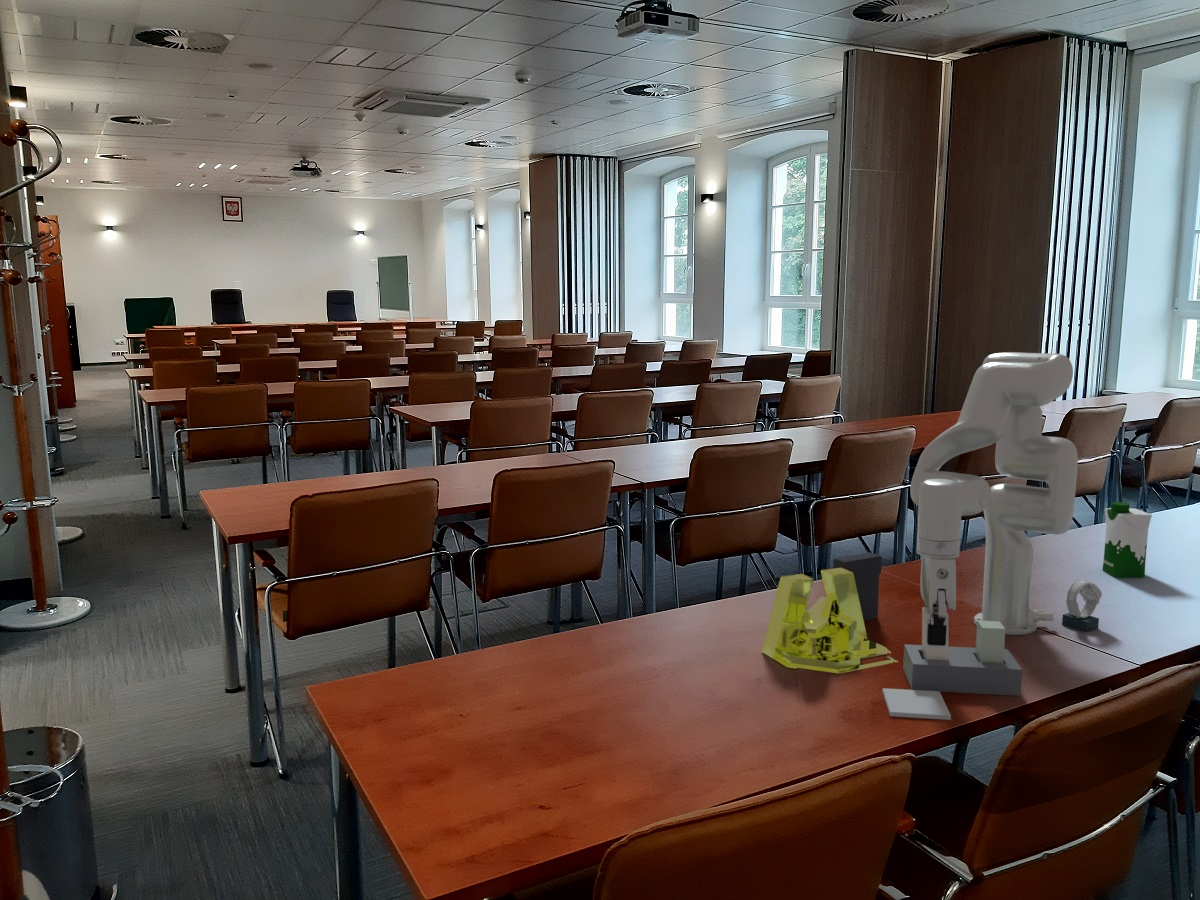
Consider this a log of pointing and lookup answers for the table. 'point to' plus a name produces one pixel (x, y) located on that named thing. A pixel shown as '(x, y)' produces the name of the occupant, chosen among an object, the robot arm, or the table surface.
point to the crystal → (820, 626)
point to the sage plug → (990, 642)
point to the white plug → (932, 650)
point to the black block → (864, 580)
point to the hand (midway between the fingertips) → (933, 639)
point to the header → (962, 672)
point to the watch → (1083, 618)
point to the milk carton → (1125, 541)
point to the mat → (916, 704)
